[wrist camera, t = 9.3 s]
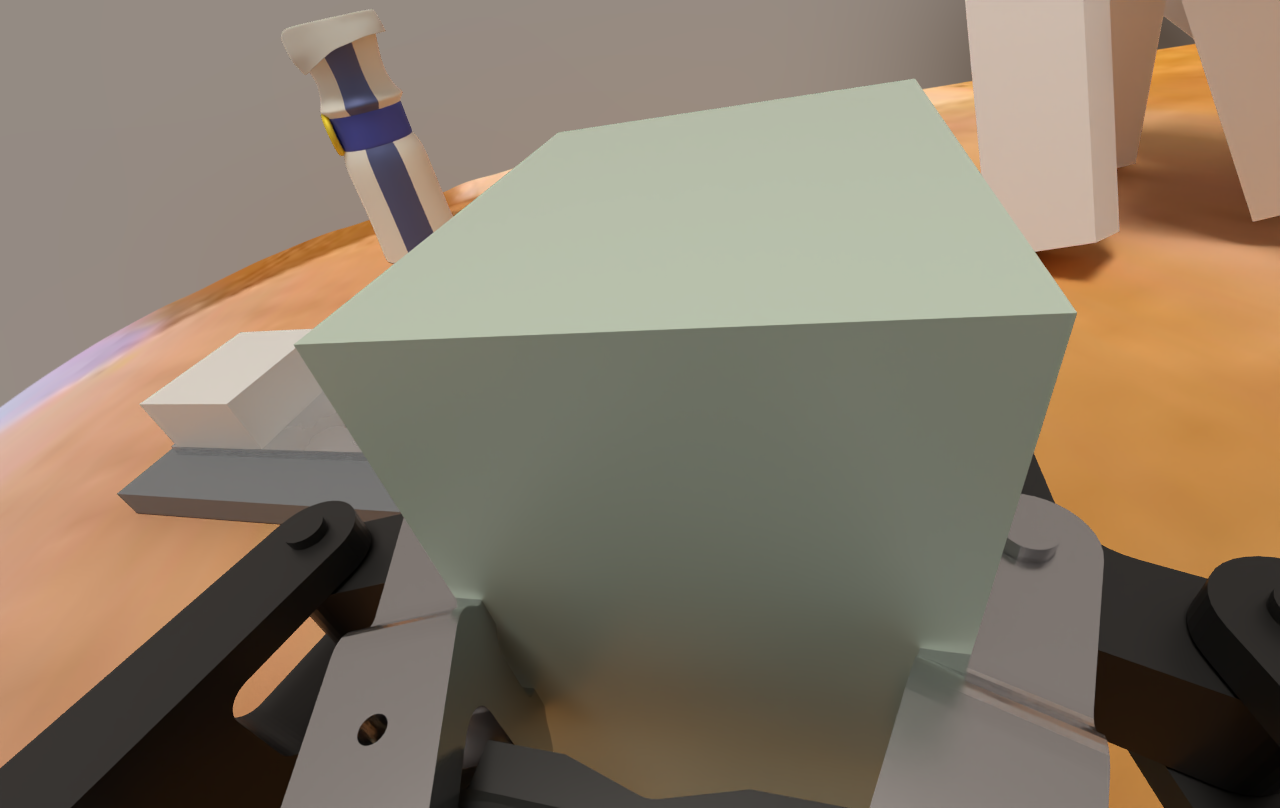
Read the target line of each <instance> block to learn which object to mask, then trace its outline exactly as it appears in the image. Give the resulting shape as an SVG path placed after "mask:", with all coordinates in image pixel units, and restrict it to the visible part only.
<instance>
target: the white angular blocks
mask: <svg viewBox="0 0 1280 808" xmlns="http://www.w3.org/2000/svg"><path fill="white" fill-rule="evenodd" d="M965 4H966V15H967V26H968V37H969V48H970V58H971V68H972V79H973V91H974V101H975V112H976V123H977V134H978V145H979V155H980V166H981V175H982V176H983V178H984V179H985V181H986V182H987V184H988V185H989V186H990V188H991V189H992V191H993V192H994V194H995V195H996V197H997V198H998V199H999V201H1000V202H1001V204H1002V205H1003V207H1004V208H1005V210H1006V211H1007V212H1008V214H1009V215H1010V217H1011V218H1012V220H1013V221H1014V223H1015V224H1016V225H1017V227H1018V228H1019V230H1020V231H1021V233H1022V234H1023V236H1024V237H1025V238H1026V240H1027V241H1028V243H1029V244H1030V246H1031V247H1032V249H1033V250H1034V251H1035V252H1036V251H1043V250H1050V249H1056V248H1063V247H1070V246H1077V245H1083V244H1090V243H1096V242H1098V241H1100V240H1102V239H1105V238H1107V237H1109V236H1111V235H1113V234H1115V233H1117V232H1119V207H1118V184H1117V168H1120V167H1124V166H1128V165H1132V164H1136V159H1137V153H1138V148H1139V142H1140V137H1141V132H1142V126H1143V121H1144V116H1145V110H1146V105H1147V100H1148V94H1149V89H1150V84H1151V78H1152V73H1153V67H1154V62H1155V57H1156V51H1157V46H1158V41H1159V35H1160V30H1161V25H1162V19H1163V16H1165V17H1166V18H1167V19H1169V20H1170V21H1171V22H1172V23H1174V24H1175V25H1176V26H1178V27H1179V28H1180V29H1182V30H1183V31H1184V32H1185V33H1187V34H1188V35H1189V36H1191V37H1192V38H1193V39H1194V41H1195V44H1196V47H1197V50H1198V53H1199V56H1200V59H1201V62H1202V66H1203V69H1204V72H1205V75H1206V78H1207V81H1208V84H1209V87H1210V90H1211V94H1212V97H1213V100H1214V103H1215V106H1216V109H1217V112H1218V115H1219V118H1220V121H1221V125H1222V128H1223V131H1224V134H1225V137H1226V140H1227V143H1228V146H1229V149H1230V152H1231V156H1232V159H1233V162H1234V165H1235V168H1236V171H1237V174H1238V177H1239V180H1240V184H1241V187H1242V190H1243V193H1244V196H1245V199H1246V202H1247V205H1248V208H1249V211H1250V215H1251V218H1252V221H1253V222H1254V221H1258V220H1262V219H1267V218H1271V217H1275V216H1280V0H965Z"/></svg>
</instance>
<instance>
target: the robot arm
mask: <svg viewBox="0 0 1280 808" xmlns="http://www.w3.org/2000/svg"><path fill="white" fill-rule="evenodd" d="M309 616H310V617H311V618H312V619H313V620H314V621H315V622H316V623H317V624H318V625H319V627H320V628H321V629H322V630H323V631H324V632H325V633H326V634H325V635H324V637H323V638H322V639H321V640H320V641H319V642H318V643H317V644H316V645H315V646H314V647H313V648H312V650H311V651H310V652H309V653H308V654H307V655H306V656H305V657H304V658H303V659H302V660H301V661H300V662H299V664H298V665H297V666H296V667H295V668H294V669H293V670H292V671H291V672H290V673H289V674H288V675H287V677H286V678H285V679H284V680H283V681H282V682H281V683H280V684H279V685H278V686H277V687H276V688H275V690H274V691H273V692H272V693H271V694H270V695H269V696H268V697H267V698H266V699H265V700H264V701H263V702H262V704H261V705H260V706H259V707H257V708H256V709H255V710H254V711H252V712H251V713H249V714H247V715H245V716H242V717H237V718H234V716H233V703H234V700H235V697H236V695H237V693H238V692H239V690H240V689H241V687H242V686H243V685H244V684H245V682H246V681H247V680H248V679H249V678H250V677H251V676H252V675H253V674H254V673H255V672H256V671H257V670H258V669H259V668H260V667H261V666H262V665H263V664H264V663H265V662H266V661H267V660H268V659H269V658H270V656H271V655H272V654H273V653H274V652H275V651H276V650H277V649H278V648H279V647H280V646H281V645H282V644H283V643H284V642H285V641H286V640H287V639H288V638H289V637H290V636H291V635H292V634H293V633H294V632H295V631H296V630H297V629H298V628H299V627H300V626H301V625H302V623H303V622H304V621H305V620H306V619H307V618H308V617H309ZM1107 741H1108V742H1110V743H1112V744H1115V745H1117V746H1120V747H1122V748H1124V749H1127V750H1128V751H1129V753H1130V755H1131V756H1132V758H1133V759H1134V761H1135V763H1136V764H1137V766H1138V767H1139V769H1140V770H1141V772H1142V774H1143V775H1144V777H1145V778H1146V780H1147V782H1148V783H1149V785H1150V786H1151V788H1152V789H1153V791H1154V793H1155V794H1156V796H1157V797H1158V799H1159V801H1160V802H1161V804H1162V805H1163V807H1164V808H1280V558H1275V557H1261V556H1254V557H1242V558H1236V559H1232V560H1229V561H1227V562H1224V563H1222V564H1221V565H1219V566H1218V567H1217V568H1215V569H1214V571H1213V572H1212V573H1211V575H1210V576H1209V578H1208V579H1206V578H1203V577H1199V576H1196V575H1192V574H1188V573H1185V572H1181V571H1177V570H1174V569H1170V568H1167V567H1163V566H1159V565H1156V564H1152V563H1149V562H1145V561H1141V560H1138V559H1135V558H1132V557H1129V556H1125V555H1123V554H1120V553H1118V552H1116V551H1113V550H1111V549H1108V548H1107V547H1105V546H1103V545H1101V544H1100V542H1099V540H1098V538H1097V536H1096V535H1095V533H1094V532H1093V531H1092V530H1091V529H1090V527H1089V526H1088V525H1087V524H1086V523H1084V522H1083V521H1082V520H1081V519H1080V518H1079V517H1077V516H1076V515H1074V514H1073V513H1071V512H1070V511H1068V510H1067V509H1065V508H1063V507H1061V506H1059V505H1057V504H1055V502H1054V500H1053V498H1052V495H1051V493H1050V491H1049V488H1048V486H1047V484H1046V481H1045V479H1044V476H1043V474H1042V472H1041V469H1040V467H1039V465H1038V462H1037V460H1036V458H1035V455H1034V453H1033V456H1032V460H1031V463H1030V466H1029V469H1028V473H1027V476H1026V479H1025V482H1024V485H1023V489H1022V492H1021V495H1020V498H1019V501H1018V505H1017V508H1016V511H1015V514H1014V518H1013V521H1012V524H1011V527H1010V530H1009V534H1008V537H1007V540H1006V543H1005V547H1004V550H1003V553H1002V556H1001V559H1000V563H999V566H998V569H997V572H996V576H995V579H994V582H993V585H992V588H991V592H990V595H989V598H988V601H987V605H986V608H985V611H984V614H983V617H982V621H981V624H980V627H979V630H978V634H977V637H976V640H975V643H974V646H973V650H972V653H971V654H962V653H953V652H945V651H937V650H931V649H924V648H920V649H919V652H918V654H917V656H915V659H914V661H913V664H912V667H911V670H910V673H909V677H908V680H907V683H906V686H905V690H904V693H903V697H902V700H901V703H900V707H899V710H898V713H897V717H896V720H895V724H894V727H893V730H892V734H891V737H890V741H889V744H888V747H887V751H886V754H885V757H884V761H883V764H882V768H881V771H880V774H879V778H878V781H877V784H876V788H875V791H874V795H873V798H872V801H871V805H870V808H1108V804H1109V782H1110V756H1109V747H1108V743H1107ZM0 808H847V807H842V806H836V805H831V804H826V803H821V802H815V801H810V800H805V799H799V798H794V797H789V796H783V795H778V794H773V793H768V792H762V791H757V790H752V789H748V790H739V791H730V792H720V793H711V794H702V795H692V796H683V797H674V798H664V799H649V798H644V797H642V796H640V795H638V794H636V793H634V792H632V791H631V790H629V789H627V788H625V787H623V786H622V785H620V784H618V783H616V782H614V781H613V780H611V779H609V778H607V777H605V776H604V775H602V774H600V773H598V772H596V771H595V770H593V769H591V768H589V767H587V766H586V765H584V764H582V763H580V762H578V761H577V760H575V759H573V758H571V757H569V756H568V755H566V754H561V753H556V752H553V746H552V740H551V735H550V731H549V727H548V724H547V719H546V712H545V706H544V704H543V702H542V701H541V699H540V697H539V696H538V694H537V692H536V690H535V689H534V688H525V687H522V686H521V685H520V683H519V681H518V680H517V678H516V676H515V675H514V673H513V672H512V670H511V668H510V667H509V665H508V664H507V662H506V660H505V659H504V657H503V655H502V653H501V650H500V647H499V643H498V637H497V628H496V623H495V622H494V620H493V618H492V616H491V615H490V613H489V611H488V610H487V608H486V606H485V605H484V603H483V601H482V600H479V599H465V598H455V597H454V595H453V594H452V592H451V590H450V589H449V587H448V586H447V584H446V583H445V581H444V580H443V578H442V576H441V575H440V573H439V572H438V570H437V569H436V567H435V565H434V564H433V562H432V561H431V559H430V558H429V556H428V554H427V553H426V551H425V550H424V548H423V547H422V545H421V544H420V542H419V540H418V539H417V537H416V536H415V534H414V533H413V531H412V529H411V528H410V526H409V525H408V523H407V522H406V520H405V518H404V517H403V515H402V514H398V515H394V516H389V517H385V518H380V519H375V520H371V521H366V522H363V521H362V520H361V518H360V517H359V515H358V514H357V513H356V511H355V510H354V508H353V507H352V506H351V505H350V504H348V503H346V502H343V501H326V502H322V503H318V504H315V505H312V506H310V507H308V508H305V509H303V510H302V511H300V512H298V513H296V514H295V515H293V516H292V517H290V518H289V519H287V520H286V521H285V522H284V523H282V524H281V525H280V526H279V527H278V528H277V529H275V530H274V531H273V532H272V533H271V534H270V535H268V536H267V537H266V538H265V539H264V540H263V541H262V542H260V543H259V544H258V545H257V546H256V547H255V548H254V549H252V550H251V551H250V552H249V553H248V554H247V555H245V556H244V557H243V558H242V559H241V560H240V561H239V562H237V563H236V564H235V565H234V566H233V567H232V568H230V569H229V570H228V571H227V572H226V573H225V574H224V575H222V576H221V577H220V578H219V579H218V580H217V581H216V582H214V583H213V584H212V585H211V586H210V587H209V588H207V589H206V590H205V591H204V592H203V593H202V594H201V595H199V596H198V597H197V598H196V599H195V600H194V601H192V602H191V603H190V604H189V605H188V606H187V607H186V608H184V609H183V610H182V611H181V612H180V613H179V614H178V615H176V616H175V617H174V618H173V619H172V620H171V621H169V622H168V623H167V624H166V625H165V626H164V627H163V628H161V629H160V630H159V631H158V632H157V633H156V634H154V635H153V636H152V637H151V638H150V639H149V640H148V641H146V642H145V643H144V644H143V645H142V646H141V647H140V648H138V649H137V650H136V651H135V652H134V653H133V654H131V655H130V656H129V657H128V658H127V659H126V660H125V661H123V662H122V663H121V664H120V665H119V666H118V667H116V668H115V669H114V670H113V671H112V672H111V673H110V674H108V675H107V676H106V677H105V678H104V679H103V680H102V681H100V682H99V683H98V684H97V685H96V686H95V687H93V688H92V689H91V690H90V691H89V692H88V693H87V694H85V695H84V696H83V697H82V698H81V699H80V700H78V701H77V702H76V703H75V704H74V705H73V706H72V707H70V708H69V709H68V710H67V711H66V712H65V713H64V714H62V715H61V716H60V717H59V718H58V719H57V720H55V721H54V722H53V723H52V724H51V725H50V726H49V727H47V728H46V729H45V730H44V731H43V732H42V733H40V734H39V735H38V736H37V737H36V738H35V739H34V740H32V741H31V742H30V743H29V744H28V745H27V746H26V747H24V748H23V749H22V750H21V751H20V752H19V753H17V754H16V755H15V756H14V757H13V758H12V759H11V760H9V761H8V762H7V763H6V764H5V765H4V766H3V767H1V768H0Z"/></svg>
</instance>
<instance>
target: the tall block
mask: <svg viewBox="0 0 1280 808" xmlns="http://www.w3.org/2000/svg"><path fill="white" fill-rule="evenodd" d="M1076 315H1077V312H1076V311H1075V309H1074V308H1073V306H1072V305H1071V303H1070V302H1069V300H1068V299H1067V298H1066V296H1065V295H1064V293H1063V292H1062V290H1061V289H1060V287H1059V286H1058V285H1057V283H1056V282H1055V280H1054V279H1053V277H1052V276H1051V274H1050V273H1049V272H1048V270H1047V269H1046V267H1045V266H1044V264H1043V263H1042V261H1041V260H1040V259H1039V257H1038V256H1037V254H1036V253H1035V251H1034V250H1033V249H1032V247H1031V246H1030V244H1029V243H1028V241H1027V240H1026V238H1025V237H1024V236H1023V234H1022V233H1021V231H1020V230H1019V228H1018V227H1017V225H1016V224H1015V223H1014V221H1013V220H1012V218H1011V217H1010V215H1009V214H1008V212H1007V211H1006V210H1005V208H1004V207H1003V205H1002V204H1001V202H1000V201H999V199H998V198H997V197H996V195H995V194H994V192H993V191H992V189H991V188H990V186H989V185H988V184H987V182H986V181H985V179H984V178H983V176H982V175H981V173H980V172H979V171H978V169H977V168H976V166H975V165H974V163H973V162H972V160H971V159H970V158H969V156H968V155H967V153H966V152H965V150H964V149H963V147H962V146H961V145H960V143H959V142H958V140H957V139H956V137H955V136H954V134H953V133H952V132H951V130H950V129H949V127H948V126H947V124H946V123H945V122H944V120H943V119H942V117H941V116H940V114H939V113H938V111H937V110H936V109H935V107H934V106H933V104H932V103H931V101H930V100H929V98H928V97H927V96H926V94H925V93H924V91H923V90H922V88H921V87H920V85H919V84H918V83H917V81H916V80H915V79H909V80H903V81H897V82H890V83H883V84H877V85H870V86H863V87H857V88H850V89H843V90H837V91H830V92H823V93H817V94H811V95H804V96H798V97H790V98H784V99H778V100H771V101H764V102H757V103H751V104H744V105H737V106H731V107H724V108H718V109H711V110H704V111H698V112H691V113H685V114H678V115H671V116H665V117H658V118H651V119H645V120H638V121H632V122H625V123H619V124H612V125H605V126H599V127H592V128H585V129H579V130H572V131H565V132H559V133H557V134H556V135H555V136H554V137H552V138H551V139H550V140H549V141H547V142H546V143H545V144H544V145H542V146H541V147H540V148H539V149H537V150H536V151H535V152H534V153H532V154H531V155H530V156H529V157H527V158H526V159H525V160H524V161H522V162H521V163H520V164H519V165H517V166H516V167H515V168H514V169H512V170H511V171H510V172H509V173H507V174H506V175H505V176H504V177H502V178H501V179H500V180H499V181H497V182H496V183H495V184H494V185H492V186H491V187H490V188H489V189H487V190H486V191H485V192H484V193H482V194H481V195H480V196H479V197H477V198H476V199H475V200H474V201H472V202H471V203H470V204H469V205H467V206H466V207H465V208H464V209H462V210H461V211H460V212H459V213H457V214H456V215H455V216H454V217H452V218H451V219H450V220H449V221H447V222H446V223H445V224H444V225H442V226H441V227H440V228H439V229H437V230H436V231H435V232H434V233H432V234H431V235H430V236H429V237H427V238H426V239H425V240H424V241H422V242H421V243H420V244H419V245H417V246H416V247H415V248H414V249H412V250H411V251H410V252H409V253H407V254H406V255H405V256H404V257H402V258H401V259H400V260H399V261H397V262H396V263H395V264H394V265H392V266H391V267H390V268H389V269H387V270H386V271H385V272H384V273H382V274H381V275H380V276H379V277H377V278H376V279H375V280H374V281H372V282H371V283H370V284H369V285H367V286H366V287H365V288H364V289H362V290H361V291H360V292H359V293H357V294H356V295H355V296H354V297H352V298H351V299H350V300H349V301H347V302H346V303H345V304H344V305H342V306H341V307H340V308H339V309H337V310H336V311H335V312H334V313H332V314H331V315H330V316H329V317H327V318H326V319H325V320H324V321H322V322H321V323H320V324H319V325H317V326H316V327H315V328H314V329H312V330H311V331H310V332H309V333H307V334H306V335H305V336H304V337H302V338H301V339H300V340H299V341H297V342H296V343H295V344H294V346H295V348H296V349H297V351H298V353H299V354H300V356H301V357H302V359H303V360H304V362H305V364H306V365H307V367H308V368H309V370H310V371H311V373H312V374H313V376H314V378H315V379H316V381H317V382H318V384H319V385H320V387H321V389H322V390H323V392H324V393H325V395H326V396H327V398H328V400H329V401H330V403H331V404H332V406H333V407H334V409H335V410H336V412H337V414H338V415H339V417H340V418H341V420H342V421H343V423H344V425H345V426H346V428H347V429H348V431H349V432H350V434H351V436H352V437H353V439H354V440H355V442H356V443H357V445H358V446H359V448H360V450H361V451H362V453H363V454H364V456H365V457H366V459H367V461H368V462H369V464H370V465H371V467H372V468H373V470H374V472H375V473H376V475H377V476H378V478H379V479H380V481H381V482H382V484H383V486H384V487H385V489H386V490H387V492H388V493H389V495H390V497H391V498H392V500H393V501H394V503H395V504H396V506H397V508H398V509H399V511H400V512H401V514H402V515H403V517H404V518H405V520H406V522H407V523H408V525H409V526H410V528H411V529H412V531H413V533H414V534H415V536H416V537H417V539H418V540H419V542H420V544H421V545H422V547H423V548H424V550H425V551H426V553H427V554H428V556H429V558H430V559H431V561H432V562H433V564H434V565H435V567H436V569H437V570H438V572H439V573H440V575H441V576H442V578H443V580H444V581H445V583H446V584H447V586H448V587H449V589H450V590H451V592H452V594H453V595H454V597H455V598H465V599H479V600H482V601H483V603H484V605H485V606H486V608H487V610H488V611H489V613H490V615H491V616H492V618H493V620H494V622H495V623H496V628H497V637H498V643H499V647H500V650H501V653H502V655H503V657H504V659H505V660H506V662H507V664H508V665H509V667H510V668H511V670H512V672H513V673H514V675H515V676H516V678H517V680H518V681H519V683H520V685H521V686H522V687H525V688H534V689H535V690H536V692H537V694H538V696H539V697H540V699H541V701H542V702H543V704H544V706H545V712H546V719H547V724H548V727H549V731H550V735H551V740H552V746H553V752H556V753H561V754H566V755H568V756H569V757H571V758H573V759H575V760H577V761H578V762H580V763H582V764H584V765H586V766H587V767H589V768H591V769H593V770H595V771H596V772H598V773H600V774H602V775H604V776H605V777H607V778H609V779H611V780H613V781H614V782H616V783H618V784H620V785H622V786H623V787H625V788H627V789H629V790H631V791H632V792H634V793H636V794H638V795H640V796H642V797H644V798H649V799H664V798H674V797H683V796H692V795H702V794H711V793H720V792H730V791H739V790H748V789H752V790H757V791H762V792H768V793H773V794H778V795H783V796H789V797H794V798H799V799H805V800H810V801H815V802H821V803H826V804H831V805H836V806H842V807H847V808H870V805H871V801H872V798H873V795H874V791H875V788H876V784H877V781H878V778H879V774H880V771H881V768H882V764H883V761H884V757H885V754H886V751H887V747H888V744H889V741H890V737H891V734H892V730H893V727H894V724H895V720H896V717H897V713H898V710H899V707H900V703H901V700H902V697H903V693H904V690H905V686H906V683H907V680H908V677H909V673H910V670H911V667H912V664H913V661H914V659H915V656H917V654H918V652H919V649H920V648H924V649H931V650H937V651H945V652H953V653H962V654H971V653H972V650H973V646H974V643H975V640H976V637H977V634H978V630H979V627H980V624H981V621H982V617H983V614H984V611H985V608H986V605H987V601H988V598H989V595H990V592H991V588H992V585H993V582H994V579H995V576H996V572H997V569H998V566H999V563H1000V559H1001V556H1002V553H1003V550H1004V547H1005V543H1006V540H1007V537H1008V534H1009V530H1010V527H1011V524H1012V521H1013V518H1014V514H1015V511H1016V508H1017V505H1018V501H1019V498H1020V495H1021V492H1022V489H1023V485H1024V482H1025V479H1026V476H1027V473H1028V469H1029V466H1030V463H1031V460H1032V456H1033V453H1034V450H1035V447H1036V444H1037V440H1038V437H1039V434H1040V431H1041V427H1042V424H1043V421H1044V418H1045V415H1046V411H1047V408H1048V405H1049V402H1050V398H1051V395H1052V392H1053V389H1054V386H1055V382H1056V379H1057V376H1058V373H1059V369H1060V366H1061V363H1062V360H1063V357H1064V353H1065V350H1066V347H1067V344H1068V341H1069V337H1070V334H1071V331H1072V328H1073V324H1074V321H1075V318H1076Z"/></svg>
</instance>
